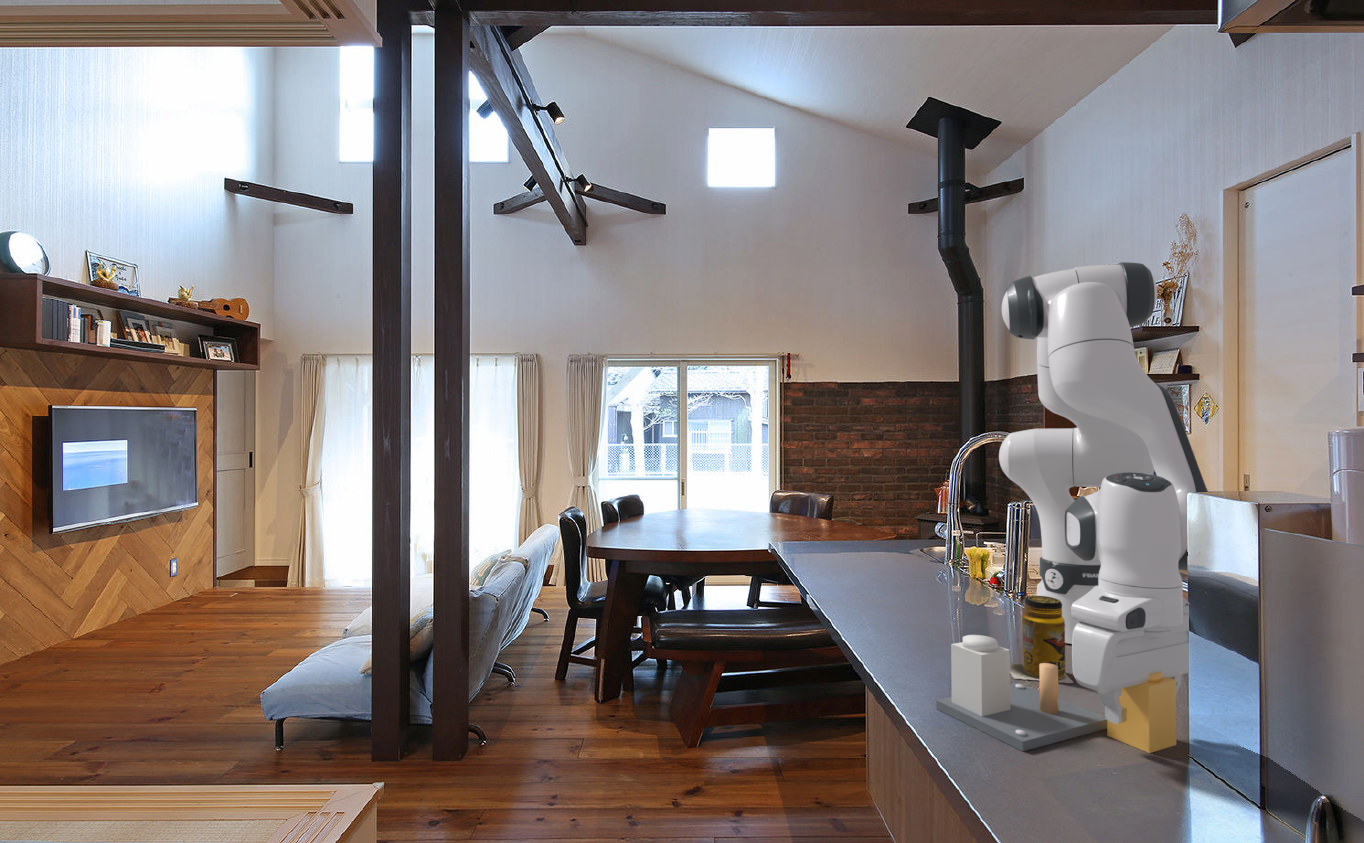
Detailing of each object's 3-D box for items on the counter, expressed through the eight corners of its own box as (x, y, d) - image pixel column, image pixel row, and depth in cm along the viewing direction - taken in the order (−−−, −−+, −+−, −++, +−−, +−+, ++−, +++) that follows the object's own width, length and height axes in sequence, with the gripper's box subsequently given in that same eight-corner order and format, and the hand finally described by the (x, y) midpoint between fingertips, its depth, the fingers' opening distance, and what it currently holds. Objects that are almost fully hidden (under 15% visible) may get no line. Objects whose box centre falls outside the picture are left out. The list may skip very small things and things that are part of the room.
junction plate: (1018, 690, 103) (1017, 622, 103) (1110, 727, 90) (1109, 649, 90) (936, 708, 96) (935, 635, 96) (1022, 751, 83) (1021, 666, 83)
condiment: (1074, 684, 105) (1073, 605, 106) (1014, 679, 107) (1013, 602, 107) (1059, 668, 113) (1058, 594, 113) (1003, 664, 114) (1002, 591, 115)
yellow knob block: (1133, 728, 90) (1133, 658, 90) (1176, 745, 85) (1175, 671, 85) (1107, 735, 88) (1106, 664, 88) (1149, 753, 83) (1148, 677, 83)
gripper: (1165, 590, 94) (1166, 692, 93) (1061, 606, 85) (1062, 719, 85) (1217, 600, 88) (1218, 710, 88) (1111, 619, 79) (1112, 740, 79)
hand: (1140, 714), depth 86 cm, fingers open, 8 cm apart
